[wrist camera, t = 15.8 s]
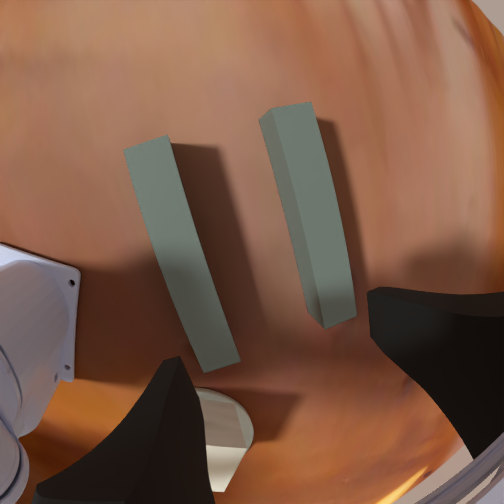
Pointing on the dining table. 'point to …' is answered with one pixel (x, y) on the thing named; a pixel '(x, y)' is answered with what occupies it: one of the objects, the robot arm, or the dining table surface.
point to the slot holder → (297, 216)
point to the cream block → (222, 442)
